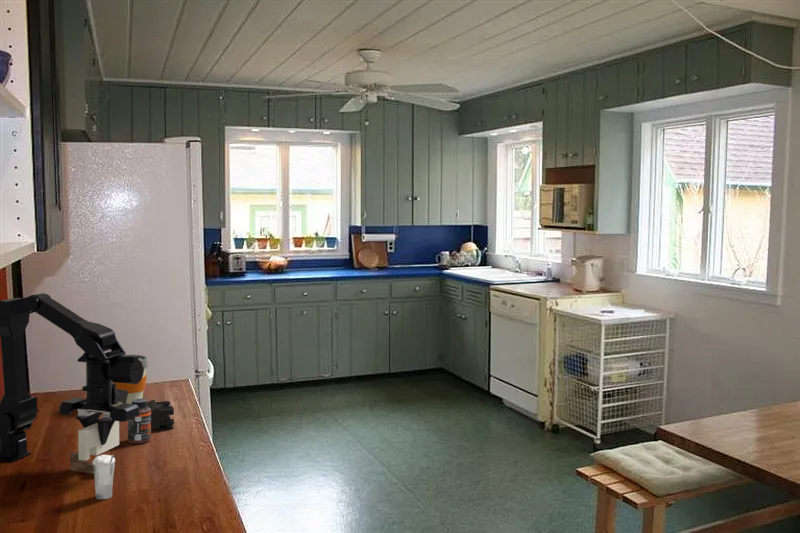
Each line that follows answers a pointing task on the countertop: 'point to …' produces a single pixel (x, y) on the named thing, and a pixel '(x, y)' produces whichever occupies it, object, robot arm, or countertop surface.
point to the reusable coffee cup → (134, 385)
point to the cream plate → (96, 441)
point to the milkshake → (103, 476)
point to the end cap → (161, 415)
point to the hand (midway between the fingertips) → (99, 443)
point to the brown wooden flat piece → (80, 464)
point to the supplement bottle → (140, 423)
